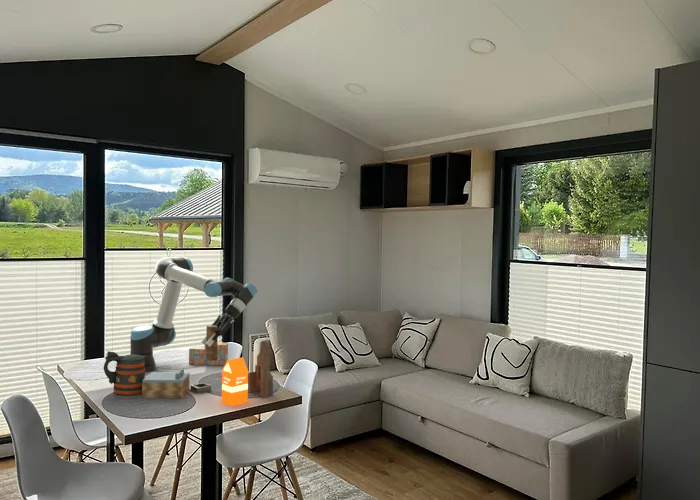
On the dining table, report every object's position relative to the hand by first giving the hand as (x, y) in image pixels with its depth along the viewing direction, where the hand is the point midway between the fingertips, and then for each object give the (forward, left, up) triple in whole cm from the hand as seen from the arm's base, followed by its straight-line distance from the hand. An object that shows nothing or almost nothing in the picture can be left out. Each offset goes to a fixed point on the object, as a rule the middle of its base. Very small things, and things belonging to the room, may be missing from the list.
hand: (205, 344), depth 267 cm
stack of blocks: (-8, +47, -22) cm, 52 cm away
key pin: (+3, +2, -8) cm, 9 cm away
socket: (0, -7, -21) cm, 22 cm away
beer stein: (-35, -10, -21) cm, 42 cm away
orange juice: (+19, -25, -21) cm, 38 cm away
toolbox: (-15, -12, -21) cm, 29 cm away
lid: (-15, -12, -14) cm, 24 cm away
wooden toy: (+29, -11, -21) cm, 37 cm away
